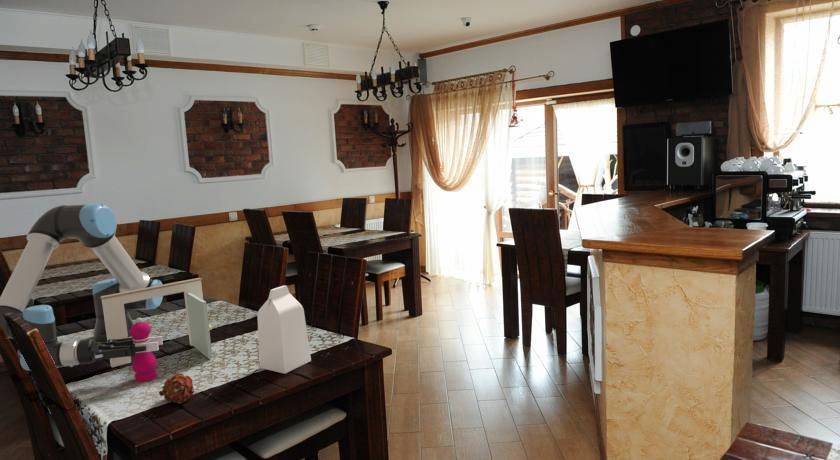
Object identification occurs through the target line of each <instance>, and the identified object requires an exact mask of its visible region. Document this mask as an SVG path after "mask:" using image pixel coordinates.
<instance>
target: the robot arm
mask: <svg viewBox="0 0 840 460" xmlns="http://www.w3.org/2000/svg"><path fill="white" fill-rule="evenodd" d="M116 219H117V218H116V215H115V212H114V211H113V210H112V209H111V208H110V207H108V206H107V205H104V204H100V203H98V204H97V203H88V204H87V203H86V204H69V205H57V206H54V207H52V208H50V209H49V210H47V211H45V212H44V213H43V214H42V215H41V216H40V217H39V218H38V219H37V220H36V221H35V222H34V223H33V225H32V227H31V228H30V230H29V231H28V233H27V235H26V240H27V244H26V245H25V247H24V249H23V251H22V252H21V253H22V254H21V256H20V257H19V259H18V261H17V263H16V266H15V267H14V269H13V271H12V272H11V275H10V277H9V279H8V281H7V283H6V285H5V287H4V289H3V291H2V293H1V295H0V327H1V328H2V329H3V330H4V331H5V334H6V336H7V337H8V338H7V339H14V338H13V337H12V334H11V331H10V329H9V327H8V325H7V322H6V320H5V318H4V316H3V314H5V313H7V312H10V313H11V312H12V313H14V314H16V315H18V316H19V317H21V318H23V319H24V320H26V321H27V322H28V323H30V324H31V325H33V326H34V327H36V328H37V329H38V330H39V332H40V334H41V336H42V338H43V341H44V343H45V345H46V347H47V349H48V351H49V353H50V355H51V356H52V358H53V360H54V362H55V365H56V368H63V367H70V368H73V367H74V366H78V365H90V364H93V363H95V362H96V361H97V362H98V361H102V360H107V359H108V360H110V358H119V357H128V356H131V358H132V357H133V358H134V356H135V352H136V353H141V352H150V351H152V352H156V351H159V350H160V348H159V346H162V345H163V344H164V343H163V335H159V336H150V341H149V343H141V344H133V337H132V336H131V335H130V328H131V326H132V325H134V324H135V323H134V321H133V319H132V317H131V315H130V312H129V311H141V310H142V311H143V310H148V311H149V310H155V309H157V308H159V306H160V305H161V304H162V301H163V298H164V296H160V297H155V298H150V299H145V300H140V301H135V302H130V303H125V304H124V310H125V317H126V325H127V333H128V338H122V339H109V340H108V342H107V334H106V327H105V320H104V312H103V305H102V299H101V298H100V296H105V295H111V294H116V293H121V292H127V291H132V290H137V289H142V288H148V287H153V286H158V285H163V283H162V281H161V280H160V279H152V278H151V277H150V275H149V274H148V273H147V272H145V271H141V270H140V269H139V267H138V266H137V265H136V264H135V262H134V260H133V259H132V257H130V255H129V253H128V252H127V251H126V250H125V248H124V246H123V245H122V244H121V242H120V241H119V240H118V238H117V236H116V230H117V226H118V223H117V220H116ZM69 239H70V240H72V239H74V240H75V239H77V240H78V241H79V242H80V244H82V247H84V248H87V249H91V250H92V251H93V252H94V254H95V255H96V256H97V258H98V259H99V260H100V261H101V262H102V263H103V265H104V267H105V268H106V270H108V271H109V273H110V274H111V276H112V277H113V278H108V279H105V280H100V281H98V282H95V283H94V284H93V285H92V298H93V305H94V311H95V317H96V321H95V325H94V330H93V338H87V339H80V340H69V341H61V342H60V341H59V342H58V335H57V326H56V317H55V315H54V309H53V307H52V306H51V305H49V304H39V305H33V306H29V307H27V306H28V304H29V302H30V299H31V298H32V295H33V293H34V291H35V289H36V287H37V285H38V283H39V281H40V279H41V277H42V275H43V272H44V270H45V268H46V266H47V264H48V261H50V258H51V256H52V253H53V251H54V250H56V249H58V248H59V246H60V244H61V243H62V242H63V241H65V240H69ZM130 336H131V337H130ZM97 342H100V343H97ZM19 357H20V359H19V362H20V365H21V367H22V368H23V370H25V371H31V370H30V369H29V367H28V365H27V363H26V361H25V359H24V357H23V355H22V354H21V352H20V354H19Z"/></svg>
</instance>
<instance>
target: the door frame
mask: <svg viewBox="0 0 840 460" xmlns="http://www.w3.org/2000/svg"><path fill="white" fill-rule="evenodd" d="M202 281H203V278H201V277H196V278H191V279H186V280H181V281H174V282H169V283H165V284H162V285H158V286H153V287H148V288H142V289H137V290H132V291H127V292H121V293H116V294H111V295H105V296H100V298H101V299H102V305H103V312H104V320H105V327H106V334H107V341H106V342H108V340H109V339H122V338H129V336H128V333H127V325H126V317H125V310H124V304H125V303H130V302H135V301H140V300H145V299H150V298H155V297H160V296H163V297H164V296H168V295H169V296H170V295H174V294H180V293H183V294H184V302H185V303H184V304H185V313H186V314H185V315H186V321H187V331H188V337H189V345H190V346H191V347H194V346H193V345H192V339H191V330H190V321H189V313H188V304H187V295H186V293H188V292H190V293H192V294H194V295H195V296H197V297H199V298H201V299H202V300H204V294H203V286H202ZM109 363H110V367H111V368H115V367H116V368H117V367H118V366H124V365H127V364H132V355H131V356H128V357H119V358H110V359H109Z"/></svg>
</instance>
